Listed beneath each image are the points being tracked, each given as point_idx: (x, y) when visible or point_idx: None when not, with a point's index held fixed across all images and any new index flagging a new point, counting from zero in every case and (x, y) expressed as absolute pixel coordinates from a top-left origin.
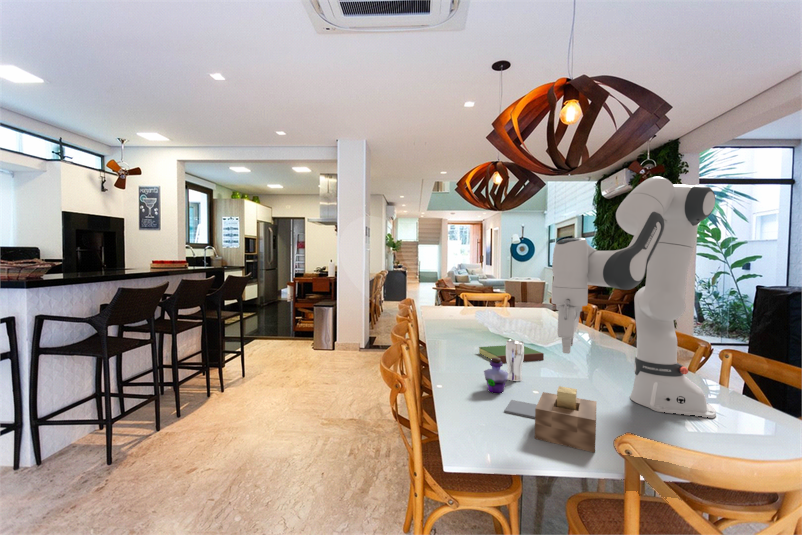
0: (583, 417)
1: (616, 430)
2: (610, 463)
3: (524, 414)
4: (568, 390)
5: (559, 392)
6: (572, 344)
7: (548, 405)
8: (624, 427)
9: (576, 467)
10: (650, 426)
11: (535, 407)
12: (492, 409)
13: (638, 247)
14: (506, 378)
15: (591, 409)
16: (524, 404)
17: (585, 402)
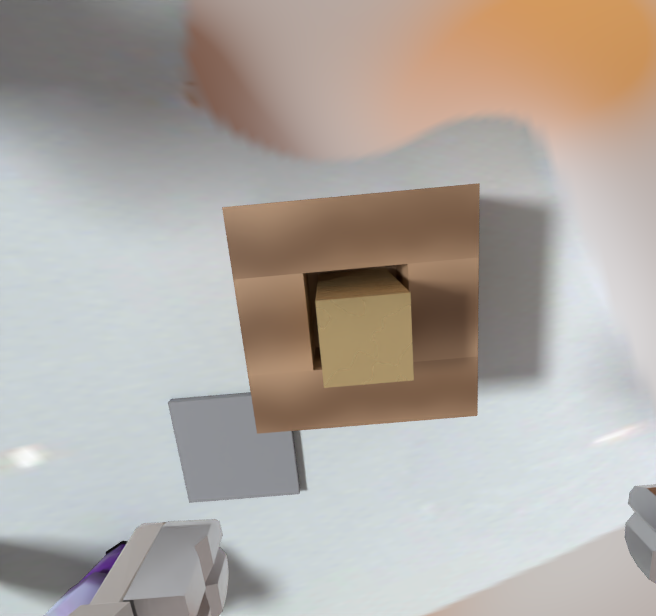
0: (474, 234)
1: (205, 140)
2: (485, 140)
3: (291, 434)
4: (367, 334)
5: (411, 367)
6: (209, 532)
7: (413, 381)
8: (154, 113)
9: (560, 228)
10: (66, 13)
11: (203, 420)
12: (300, 522)
13: None
14: (91, 585)
15: (352, 215)
16: (202, 456)
17: (274, 251)
